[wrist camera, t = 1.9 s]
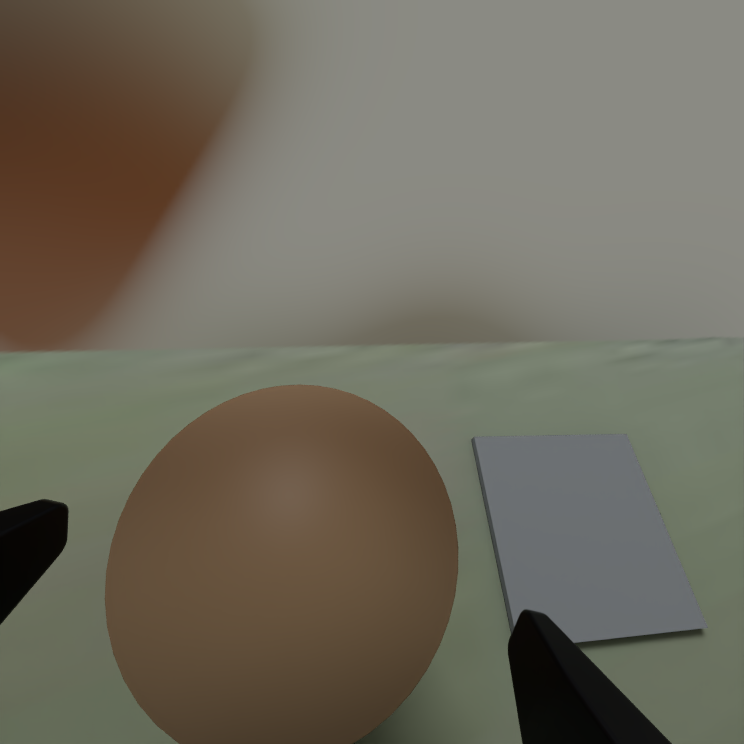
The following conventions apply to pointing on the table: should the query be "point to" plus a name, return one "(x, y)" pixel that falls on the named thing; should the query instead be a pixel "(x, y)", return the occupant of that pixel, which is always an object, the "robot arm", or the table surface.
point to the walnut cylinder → (282, 571)
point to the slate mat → (582, 537)
